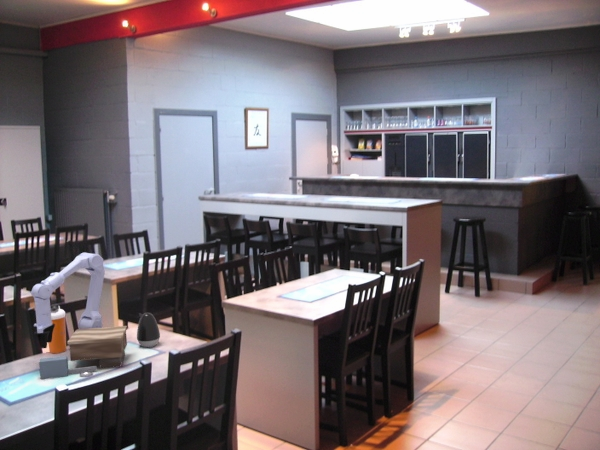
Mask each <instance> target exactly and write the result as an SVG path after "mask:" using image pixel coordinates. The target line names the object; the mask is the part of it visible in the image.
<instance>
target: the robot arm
mask: <svg viewBox="0 0 600 450" xmlns="http://www.w3.org/2000/svg"><path fill="white" fill-rule="evenodd" d="M80 269H85V270H86V271H87V272H88V274H90V281H89V287H88V293H87V299H86V300H87V301H86V306H85V309H84V311H83V312H81V315H80V319H79V320H78V323H77V327H78V328H79V329H91V328H103V321H102V317H103V316H102V315H101V313H100V311H99V310H100V304H101V297H102V291H103V286H104V280H105V279H104V277H105V267H104V258H103V257H102V256H101V255H100V254H98V253H89V252H86V251H85V252H82V253H80V254H78V255H76V257H75V258H74V259H73V261H71V262H70V263H69V264H68V265H66V266H65V267H64V268H63V269H62V270H61V271H59V272H51V273H50V275H49V276H48V277H47V278H45V279H44V280H41V282H40V283H36V284H35V285H33V287H32V289H31V291H30V295H31V296H32V297H33V299H34V300H33V301H34V310H35V318H36V319H35V320H36V323H34V324H33V327H36V331H34V333H33V334H34V336H35V338H36V339H37V341H38V345H39V347H40V349H47V348H48V342H51V341H52V334H53V330H54V327H55V324H52V319H51V308H50V307H51V300H50V298H51V297H52V295H53V292H54V291H55V290H57V289H58V288H59V287H61V286H62V285H63V284H64V283H65V279H67V278H69V276H71V275H72V274H74V273H76V272H77V271H79V270H80Z"/></svg>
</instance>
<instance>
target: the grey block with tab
mask: <svg viewBox="0 0 600 450" xmlns="http://www.w3.org/2000/svg"><path fill="white" fill-rule="evenodd" d="M38 366H39V376H40V377H39V378H40V380H45V379H46V380H47V379H54V378H63V377H68V376H71V375H76V374H79V372H80V371H83V370H92V371H93V373H94V372H97V371H98V369H97V368H98V367H97V365H93V366H84V367H76V368H69V361H68V355H63V356H54V357H46V358H40V359H39V361H38Z"/></svg>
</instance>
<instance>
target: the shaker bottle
mask: <svg viewBox="0 0 600 450" xmlns="http://www.w3.org/2000/svg"><path fill="white" fill-rule="evenodd" d="M50 308H51V319H52V324H55V327H54V330H53V334H52V341H51V342H48V343H47V345H48V351H49V353H50V354H60V353H64V352H66V351H67V332H66V311H65V310H64V309H63V308H61V306H60V305H52V306H51V305H50Z"/></svg>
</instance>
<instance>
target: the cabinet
mask: <svg viewBox="0 0 600 450" xmlns="http://www.w3.org/2000/svg"><path fill="white" fill-rule="evenodd" d="M127 330H128V325H122V326H109V327H106V326H105V327H102V328H91V329H78V328H77V329H76V330H75V331H74V332H73V334H72V335H71V336H70V338H69V339H68V340H67V341H66V344H67V346H68V345H69V357H70V361H72V362H74V361H75V362H76V361H88V360H99V361H98V362H99V369H112V368H120V367H122V364H123V361H124V359H125V356H126V355H125V354H126V352H125V351H126V348H127V346H128V342H127V340H128V339H127Z"/></svg>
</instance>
